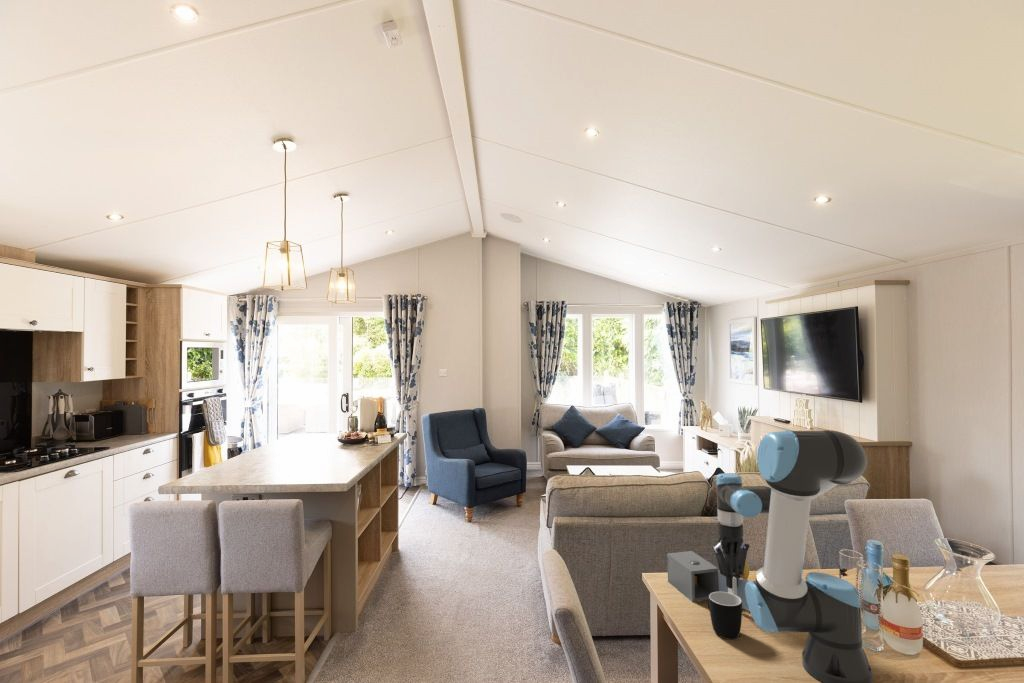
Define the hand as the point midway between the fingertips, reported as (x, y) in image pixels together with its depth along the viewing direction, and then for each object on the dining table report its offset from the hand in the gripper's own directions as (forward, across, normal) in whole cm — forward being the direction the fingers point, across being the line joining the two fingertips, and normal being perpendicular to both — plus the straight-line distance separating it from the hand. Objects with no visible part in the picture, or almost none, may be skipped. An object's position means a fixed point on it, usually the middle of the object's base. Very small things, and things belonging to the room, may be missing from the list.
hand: (732, 597), depth 160 cm
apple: (+4, -15, -16) cm, 22 cm away
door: (+3, -3, -3) cm, 5 cm away
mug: (+4, +11, +9) cm, 15 cm away
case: (+4, +3, -16) cm, 17 cm away
